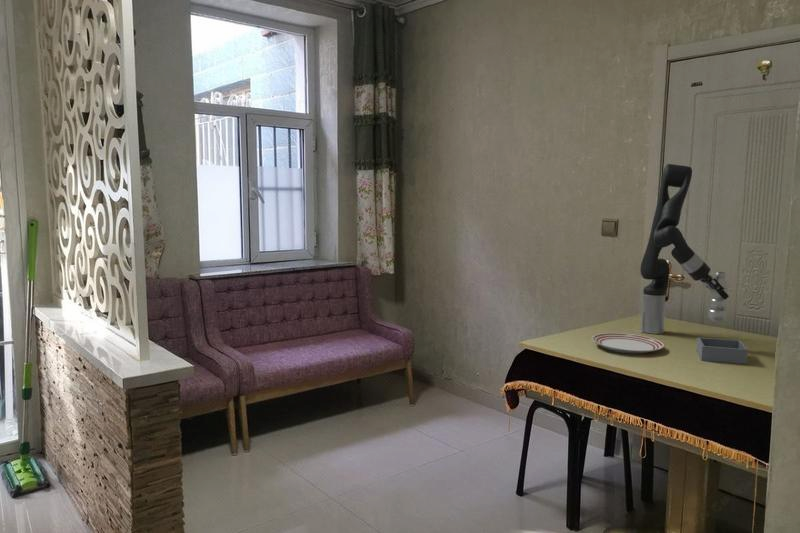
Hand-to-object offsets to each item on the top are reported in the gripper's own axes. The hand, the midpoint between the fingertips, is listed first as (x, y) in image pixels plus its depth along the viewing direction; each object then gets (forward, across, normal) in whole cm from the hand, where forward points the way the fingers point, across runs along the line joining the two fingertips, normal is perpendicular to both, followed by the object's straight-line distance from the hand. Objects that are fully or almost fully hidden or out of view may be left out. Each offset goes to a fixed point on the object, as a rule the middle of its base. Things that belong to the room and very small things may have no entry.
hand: (722, 296), depth 240 cm
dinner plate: (-10, -4, +42) cm, 43 cm away
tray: (+11, -15, +18) cm, 26 cm away
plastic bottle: (+6, 0, +9) cm, 11 cm away
